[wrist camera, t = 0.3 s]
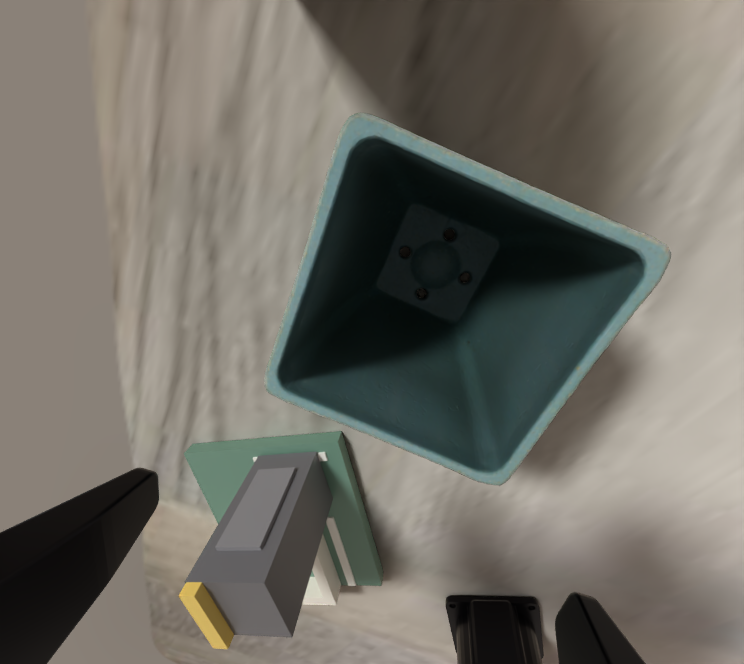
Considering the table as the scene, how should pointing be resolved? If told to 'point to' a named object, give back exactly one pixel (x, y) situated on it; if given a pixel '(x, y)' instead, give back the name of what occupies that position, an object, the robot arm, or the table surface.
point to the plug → (261, 552)
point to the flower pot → (450, 301)
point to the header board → (345, 519)
